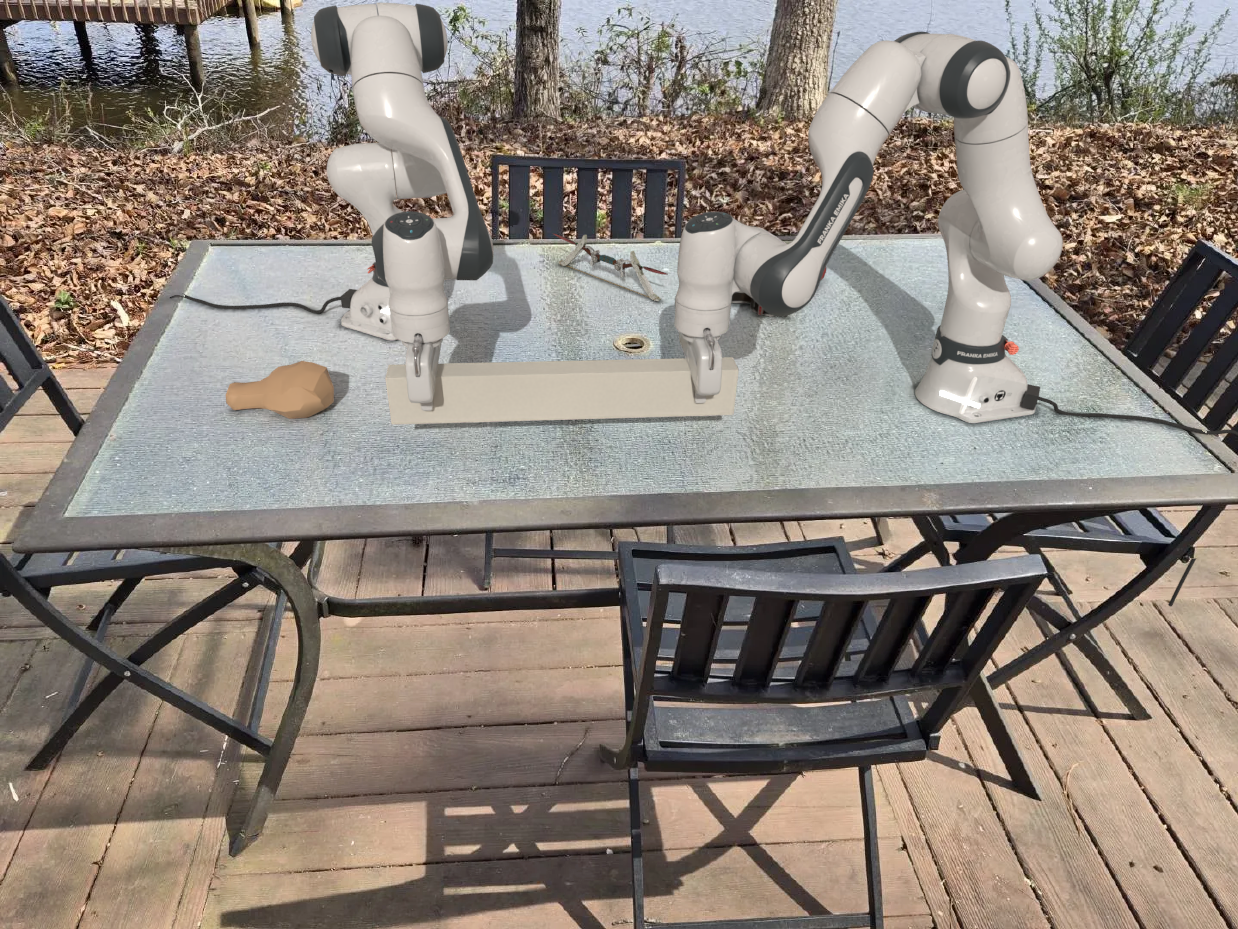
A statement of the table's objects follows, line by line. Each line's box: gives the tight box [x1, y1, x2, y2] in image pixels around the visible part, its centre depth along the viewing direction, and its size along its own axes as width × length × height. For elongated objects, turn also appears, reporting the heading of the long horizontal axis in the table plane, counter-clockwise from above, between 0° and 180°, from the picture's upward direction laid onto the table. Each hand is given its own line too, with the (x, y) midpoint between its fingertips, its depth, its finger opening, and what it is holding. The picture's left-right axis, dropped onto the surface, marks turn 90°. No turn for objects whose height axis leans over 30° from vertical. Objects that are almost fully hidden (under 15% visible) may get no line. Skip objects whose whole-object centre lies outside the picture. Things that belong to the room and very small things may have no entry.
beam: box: [384, 356, 740, 426], centre depth 145 cm, size 57×5×9 cm, turn 96°
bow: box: [552, 233, 669, 302], centre depth 216 cm, size 39×2×10 cm, turn 47°
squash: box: [225, 360, 335, 420], centre depth 161 cm, size 11×20×9 cm, turn 90°
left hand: (429, 399), depth 143 cm, fingers closed on beam, 4 cm apart
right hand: (696, 392), depth 148 cm, fingers closed on beam, 4 cm apart
